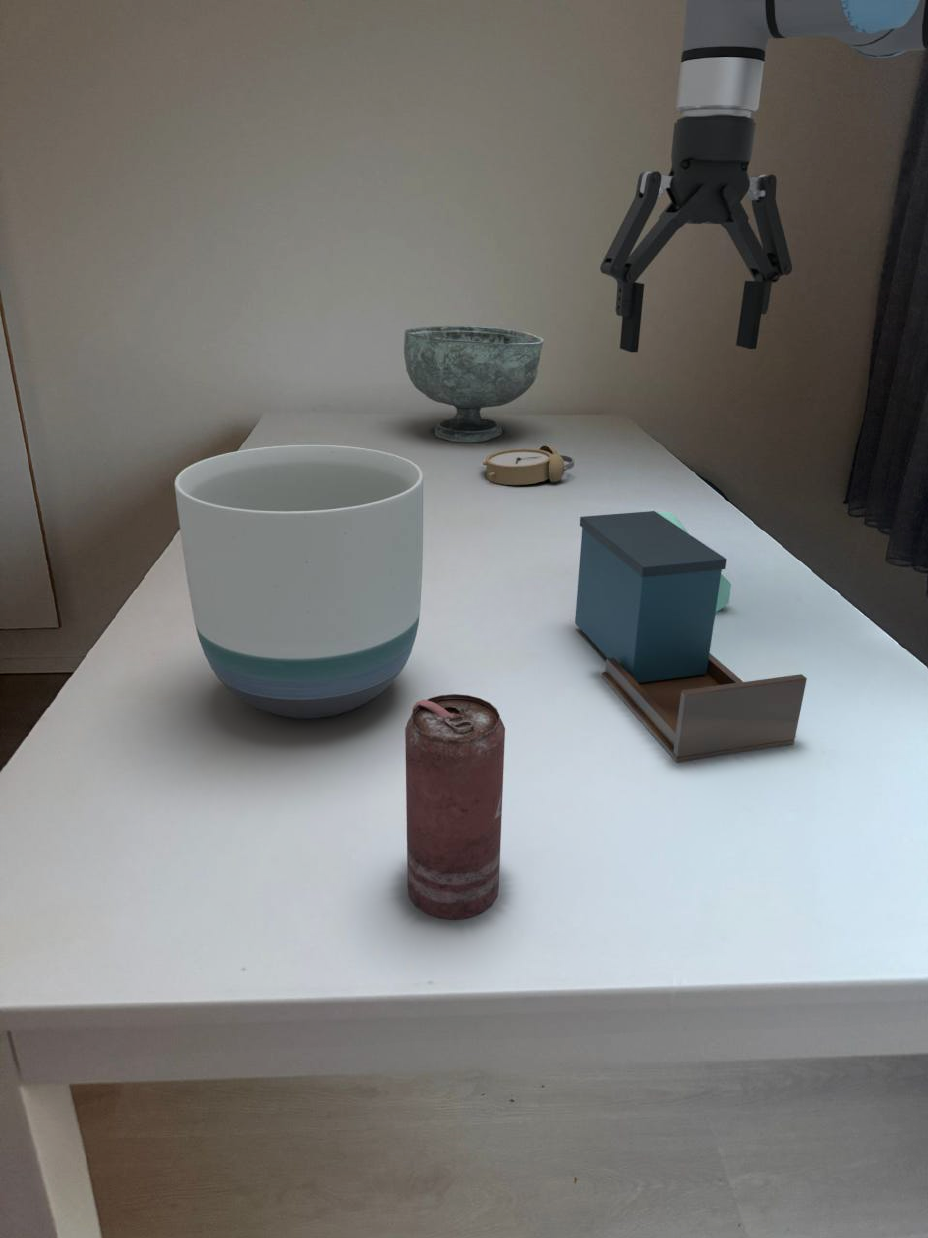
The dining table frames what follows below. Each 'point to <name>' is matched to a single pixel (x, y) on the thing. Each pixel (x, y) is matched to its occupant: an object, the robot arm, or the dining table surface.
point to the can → (454, 805)
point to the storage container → (647, 594)
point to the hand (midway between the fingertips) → (688, 349)
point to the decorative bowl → (471, 373)
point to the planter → (304, 572)
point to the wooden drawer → (712, 710)
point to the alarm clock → (526, 466)
